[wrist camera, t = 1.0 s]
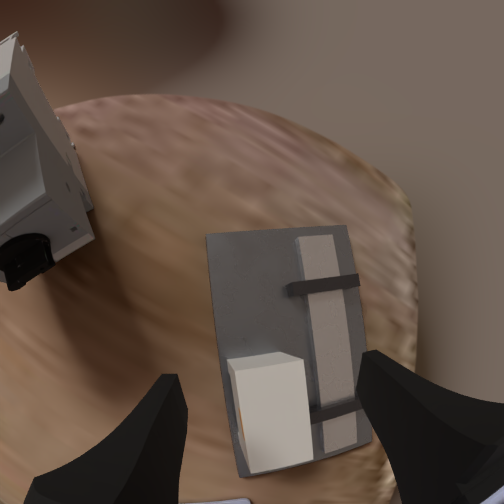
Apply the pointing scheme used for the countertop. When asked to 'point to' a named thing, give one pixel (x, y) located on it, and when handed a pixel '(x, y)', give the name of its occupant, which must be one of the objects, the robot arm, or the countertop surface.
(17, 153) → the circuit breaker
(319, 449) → the rail board
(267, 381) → the block
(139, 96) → the countertop surface
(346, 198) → the countertop surface
